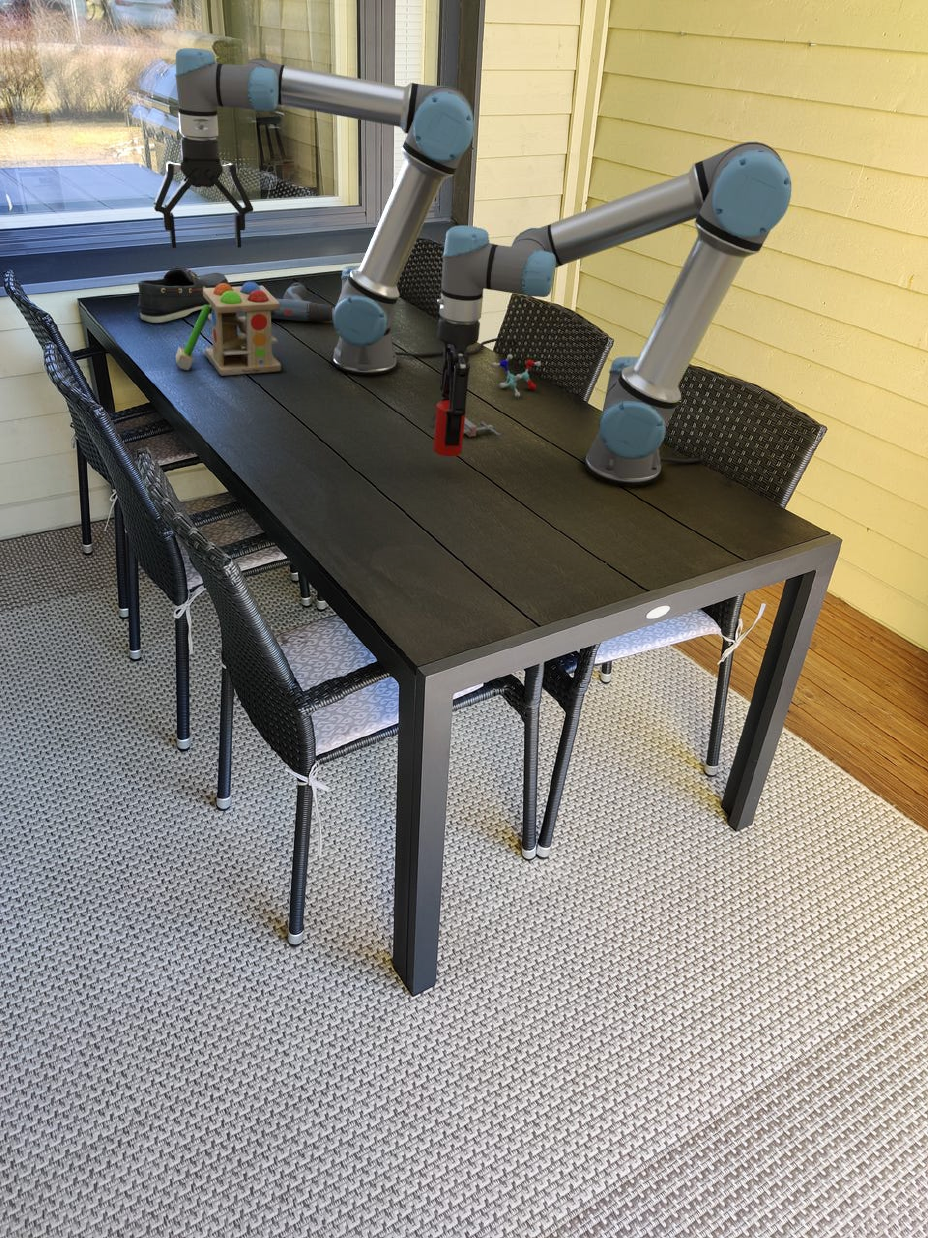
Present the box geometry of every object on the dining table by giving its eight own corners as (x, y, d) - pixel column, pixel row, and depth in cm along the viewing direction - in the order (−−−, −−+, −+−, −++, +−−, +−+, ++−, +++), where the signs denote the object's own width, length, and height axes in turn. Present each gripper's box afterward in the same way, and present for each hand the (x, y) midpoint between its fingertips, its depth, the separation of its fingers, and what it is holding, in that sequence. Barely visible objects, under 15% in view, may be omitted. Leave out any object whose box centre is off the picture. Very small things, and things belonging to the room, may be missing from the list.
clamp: (427, 409, 212) (467, 404, 217) (426, 419, 213) (466, 413, 218) (461, 437, 202) (502, 430, 206) (460, 447, 203) (501, 440, 208)
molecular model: (537, 389, 224) (523, 346, 222) (499, 403, 227) (485, 361, 226) (549, 388, 234) (536, 347, 233) (513, 401, 238) (500, 361, 237)
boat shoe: (248, 301, 272) (246, 262, 267) (158, 325, 248) (153, 283, 243) (214, 293, 278) (211, 255, 272) (123, 315, 254) (117, 274, 248)
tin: (436, 442, 193) (440, 398, 188) (464, 447, 193) (468, 402, 188) (430, 453, 189) (434, 408, 184) (458, 458, 188) (462, 413, 183)
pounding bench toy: (183, 379, 220) (176, 299, 210) (169, 357, 231) (162, 280, 221) (282, 371, 230) (280, 294, 220) (264, 350, 240) (262, 276, 230)
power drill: (344, 304, 276) (335, 327, 259) (277, 298, 275) (264, 321, 258) (344, 285, 273) (335, 306, 256) (277, 279, 272) (264, 300, 255)
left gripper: (136, 138, 191) (147, 251, 203) (264, 142, 199) (268, 250, 211) (133, 131, 197) (143, 241, 209) (257, 135, 205) (261, 241, 217)
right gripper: (431, 301, 183) (422, 418, 196) (447, 335, 168) (437, 458, 181) (470, 303, 184) (459, 418, 198) (490, 336, 170) (477, 458, 183)
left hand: (206, 246), depth 210 cm, fingers open, 13 cm apart
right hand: (449, 437), depth 189 cm, fingers closed on tin, 5 cm apart
